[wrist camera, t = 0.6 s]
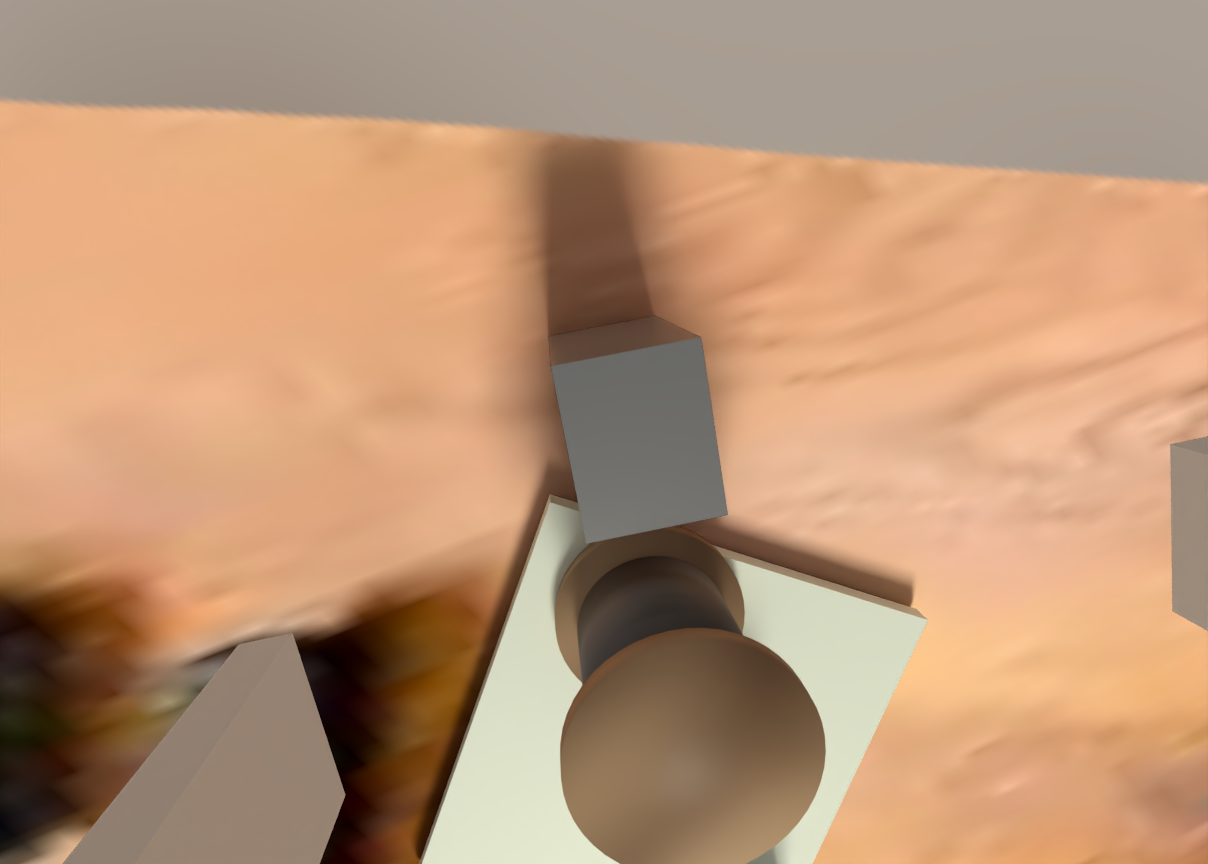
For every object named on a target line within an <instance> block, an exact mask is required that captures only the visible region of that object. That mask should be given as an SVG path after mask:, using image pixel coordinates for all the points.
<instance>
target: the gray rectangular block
mask: <svg viewBox="0 0 1208 864" xmlns="http://www.w3.org/2000/svg"><path fill="white" fill-rule="evenodd" d="M548 340H549V352H550V364H551V370H552V375H553V380H554V385H555V390H556V395H557V400H558V405H559V410H560V415H561V420H562V425H563V430H564V435H565V440H566V445H567V450H568V455H569V460H570V465H571V470H572V475H573V480H574V485H575V490H576V495H577V500H578V505H579V510H580V515H581V520H582V525H583V530H584V535H585V540H586V544H587V543H592V542H597V541H602V540H607V539H612V538H617V537H622V536H627V535H632V534H637V533H642V532H647V531H651V530H656V529H661V528H666V527H671V526H676V525H681V524H686V523H691V522H696V521H701V520H706V519H711V518H716V517H721V516H725V515H728V512H727V506H726V499H725V493H724V486H723V479H722V473H721V466H720V459H719V453H718V446H717V439H716V433H715V426H714V419H713V413H712V406H711V399H710V393H709V386H708V379H707V373H706V366H705V359H704V353H703V346H702V339H701V337H699V336H697V335H695V334H693V333H691V332H689V331H687V330H685V329H682V328H680V327H678V326H676V325H674V324H672V323H670V322H667V321H665V320H663V319H661V318H659V317H657V316H652V317H647V318H642V319H636V320H631V321H626V322H621V323H616V324H610V325H605V326H600V327H595V328H589V329H584V330H579V331H574V332H569V333H563V334H558V335H553V336H548Z"/></svg>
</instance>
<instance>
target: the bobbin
mask: <svg viewBox="0 0 1208 864" xmlns="http://www.w3.org/2000/svg"><path fill="white" fill-rule="evenodd" d="M744 617H745V609H744V599H743V595H742V590H741V588H740V585H739V582H738V580H737V578H736V576H735V574H734V573H733V571H732V569H731V567H730V566H729V564H728V563H727V561H726V560H725V558H724V557H723V556H722V554H721V553H720V552H719V551H718V550H717V549H716V548H715V547H714V546H713V545H712V544H711V543H710V542H708V541H707V540H706V539H704V538H703V537H701V536H699V535H698V534H696V533H694V532H692V531H690V530H687V529H685V528H682V527H679V526H671V527H666V528H661V529H656V530H651V531H647V532H642V533H637V534H632V535H627V536H622V537H617V538H612V539H607V540H602V541H597V542H592V543H591V544H590V545H588V546H587V547H586V548H585V549H584V550H583V551H582V552H581V553H580V554H578V556H577V557H576V558H575V559H574V561H573V562H572V563H571V564H570V566H569V568H568V569H567V571H566V573H565V574H564V576H563V579H562V581H561V583H560V586H559V589H558V593H557V596H556V603H555V631H556V637H557V642H558V646H559V649H560V652H561V654H562V656H563V658H564V661H565V662H566V664H567V665H568V667H569V669H570V670H571V671H572V673H573V674H574V675H575V676H576V677H577V678H578V680H580V681H581V682H582V687H581V688H580V690H579V691H578V693H577V695H576V696H575V698H574V699H573V702H572V704H571V706H570V708H569V710H568V712H567V715H566V718H565V722H564V725H563V728H562V735H561V741H560V768H561V782H562V789H563V795H564V798H565V801H566V804H567V808H568V810H569V812H570V814H571V816H572V818H573V820H574V822H575V823H576V825H577V826H578V828H579V829H580V831H581V832H582V834H583V835H584V836H585V837H586V838H587V839H588V840H589V841H590V842H591V843H592V844H593V845H594V846H595V847H596V848H597V849H598V850H600V851H601V852H602V853H603V854H605V855H606V856H608V857H609V858H611V859H613V860H614V861H616V862H618V863H619V864H746V863H748V862H750V861H752V860H754V859H756V858H757V857H759V856H761V855H763V854H764V853H765V852H767V851H768V850H770V849H771V848H773V847H774V846H776V845H777V844H778V843H779V842H780V841H781V840H782V839H784V838H785V837H786V836H787V835H788V834H789V833H790V832H791V831H792V830H793V829H794V828H795V826H796V825H797V824H798V823H799V822H800V820H801V819H802V818H803V816H804V815H805V813H806V812H807V811H808V809H809V807H810V805H811V803H812V801H813V800H814V798H815V796H816V793H817V791H818V788H819V785H820V783H821V779H822V775H823V771H824V766H825V755H826V746H825V734H824V729H823V724H822V721H821V718H820V715H819V713H818V710H817V707H816V706H815V704H814V702H813V700H812V698H811V697H810V695H809V693H808V691H807V690H806V688H805V687H804V685H803V683H802V682H801V680H800V679H799V677H798V676H797V675H796V673H795V672H794V671H793V669H792V668H791V667H790V666H789V665H788V664H787V663H786V662H785V661H784V660H783V659H782V658H781V657H780V656H779V655H778V654H776V653H775V652H773V651H772V650H771V649H769V648H768V647H767V646H765V645H763V644H761V643H759V642H757V641H755V640H753V639H751V638H749V637H746V636H744V635H743V634H742V632H743V627H744Z"/></svg>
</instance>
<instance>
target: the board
mask: <svg viewBox="0 0 1208 864" xmlns="http://www.w3.org/2000/svg"><path fill="white" fill-rule="evenodd" d="M590 544H591V543H587V544H586V540H585V535H584V530H583V525H582V520H581V515H580V510H579V505H578V503H577V502H574V501H570V500H567V499H564V498H561V497H558V496H554V495H551V494H550V495H549V498H548V501H547V503H546V506H545V509H544V512H543V515H542V518H541V520H540V523H539V526H538V529H537V532H536V535H535V537H534V540H533V543H532V546H531V549H530V551H529V554H528V557H527V560H526V563H525V566H524V568H523V571H522V574H521V577H520V580H519V583H518V585H517V588H516V591H515V594H514V597H513V599H512V602H511V605H510V608H509V611H508V614H507V616H506V619H505V622H504V625H503V628H502V631H501V633H500V636H499V639H498V642H497V645H496V648H495V650H494V653H493V656H492V659H491V662H490V664H489V667H488V670H487V673H486V676H485V679H484V681H483V684H482V687H481V690H480V693H479V696H478V698H477V701H476V704H475V707H474V710H473V712H472V715H471V718H470V721H469V724H468V727H467V729H466V732H465V735H464V738H463V741H462V744H461V746H460V749H459V752H458V755H457V758H456V760H455V763H454V766H453V769H452V772H451V775H450V777H449V780H448V783H447V786H446V789H445V792H444V794H443V797H442V800H441V803H440V806H439V809H438V811H437V814H436V817H435V820H434V823H433V825H432V828H431V831H430V834H429V837H428V840H427V842H426V845H425V848H424V851H423V854H422V857H421V859H420V862H419V864H619V863H618V862H616V861H614V860H613V859H611V858H609V857H608V856H606V855H605V854H603V853H602V852H601V851H600V850H598V849H597V848H596V847H595V846H594V845H593V844H592V843H591V842H590V841H589V840H588V839H587V838H586V837H585V836H584V835H583V834H582V832H581V831H580V829H579V828H578V826H577V825H576V823H575V822H574V820H573V818H572V816H571V814H570V812H569V810H568V808H567V804H566V801H565V798H564V795H563V789H562V782H561V768H560V741H561V735H562V728H563V725H564V722H565V718H566V715H567V712H568V710H569V708H570V706H571V704H572V702H573V699H574V698H575V696H576V695H577V693H578V691H579V690H580V688H581V687H582V682H581V681H580V680H578V678H577V677H576V676H575V675H574V674H573V673H572V671H571V670H570V669H569V667H568V665H567V664H566V662H565V661H564V658H563V656H562V654H561V652H560V649H559V646H558V642H557V637H556V631H555V603H556V596H557V593H558V589H559V586H560V583H561V581H562V579H563V576H564V574H565V573H566V571H567V569H568V568H569V566H570V564H571V563H572V562H573V561H574V559H575V558H576V557H577V556H578V554H580V553H581V552H582V551H583V550H584V549H585V548H586V547H587V546H588V545H590ZM713 546H714V545H713ZM714 547H715V548H716V549H717V550H718V551H719V552H720V553H721V554H722V556H723V557H724V558H725V560H726V561H727V563H728V564H729V566H730V567H731V569H732V571H733V573H734V574H735V576H736V578H737V580H738V582H739V585H740V588H741V590H742V595H743V599H744V609H745V617H744V627H743V632H742V634H743V635H744V636H746V637H749V638H751V639H753V640H755V641H757V642H759V643H761V644H763V645H765V646H767V647H768V648H769V649H771V650H772V651H773V652H775V653H776V654H778V655H779V656H780V657H781V658H782V659H783V660H784V661H785V662H786V663H787V664H788V665H789V666H790V667H791V668H792V669H793V671H794V672H795V673H796V675H797V676H798V677H799V679H800V680H801V682H802V683H803V685H804V687H805V688H806V690H807V691H808V693H809V695H810V697H811V698H812V700H813V702H814V704H815V706H816V707H817V710H818V713H819V715H820V718H821V721H822V724H823V729H824V734H825V746H826V755H825V766H824V771H823V775H822V779H821V783H820V785H819V788H818V791H817V793H816V796H815V798H814V800H813V801H812V803H811V805H810V807H809V809H808V811H807V812H806V813H805V815H804V816H803V818H802V819H801V820H800V822H799V823H798V824H797V825H796V826H795V828H794V829H793V830H792V831H791V832H790V833H789V834H788V835H787V836H786V837H785V838H784V839H782V840H781V841H780V842H779V843H778V844H777V845H776V846H774V847H773V848H771V849H770V850H768V851H767V852H765V853H764V854H763V855H761V856H759V857H757V858H756V859H754V860H752V861H750V862H748V863H746V864H812V863H813V861H814V859H815V857H816V855H817V853H818V851H819V848H820V846H821V844H822V842H823V840H824V838H825V836H826V834H827V832H828V830H829V827H830V825H831V823H832V821H833V819H834V817H835V815H836V813H837V811H838V808H839V806H840V804H841V802H842V800H843V798H844V796H845V794H846V792H847V790H848V787H849V785H850V783H851V781H852V779H853V777H854V775H855V773H856V771H857V768H858V766H859V764H860V762H861V760H862V758H863V756H864V754H865V752H866V749H867V747H868V745H869V743H870V741H871V739H872V737H873V735H874V733H875V731H876V728H877V726H878V724H879V722H880V720H881V718H882V716H883V714H884V712H885V709H886V707H887V705H888V703H889V701H890V699H891V697H892V695H893V693H894V691H895V688H896V686H897V684H898V682H899V680H900V678H901V676H902V674H903V672H904V669H905V667H906V665H907V663H908V661H909V659H910V657H911V655H912V653H913V650H914V648H915V646H916V644H917V642H918V640H919V638H920V636H921V634H922V632H923V629H924V627H925V625H926V623H927V621H928V620H927V619H926V618H925V617H924V616H923V615H922V614H921V613H920V612H919V611H918V610H917V609H915V608H912V607H909V606H906V605H902V604H899V603H896V602H893V601H890V600H886V599H883V598H880V597H877V596H874V595H870V594H867V593H864V592H861V591H858V590H854V589H851V588H848V587H845V586H842V585H839V584H835V583H832V582H829V581H826V580H823V579H819V578H816V577H813V576H810V575H807V574H803V573H800V572H797V571H794V570H791V569H787V568H784V567H781V566H778V565H775V564H771V563H768V562H765V561H762V560H759V559H756V558H752V557H749V556H746V555H743V554H740V553H736V552H733V551H730V550H727V549H724V548H720V547H717V546H714Z"/></svg>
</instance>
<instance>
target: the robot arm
mask: <svg viewBox="0 0 1208 864" xmlns="http://www.w3.org/2000/svg"><path fill="white" fill-rule="evenodd" d="M1170 456H1171V536H1172V611H1173V612H1175V613H1177V614H1178V615H1180V616H1182V617H1184V618H1186V619H1187V620H1189V621H1191V622H1193V623H1195V624H1196V625H1198V626H1200V627H1202V628H1204V629H1205V630H1207V631H1208V436H1207V437H1203V438H1198V439H1193V440H1189V441H1184V442H1179V443H1175V444H1170ZM344 797H345V793H344V790H343V787H342V784H341V781H340V778H339V775H338V772H337V768H336V765H335V762H334V759H333V756H332V753H331V750H330V747H329V744H328V741H327V738H326V735H325V732H324V729H323V726H322V723H321V719H320V716H319V713H318V710H317V707H316V704H315V701H314V698H313V695H312V692H311V689H310V686H309V683H308V680H307V677H306V674H305V670H304V667H303V664H302V661H301V658H300V655H299V652H298V649H297V646H296V643H295V640H294V637H293V634H292V633H290V634H285V635H281V636H276V637H271V638H267V639H262V640H257V641H253V642H248V643H244V644H239V645H238V646H237V647H236V649H235V650H234V651H233V652H232V654H231V655H230V656H229V657H228V659H227V660H226V661H225V662H224V664H223V665H222V666H221V667H220V669H219V670H218V671H217V672H216V674H215V675H214V676H213V677H212V679H211V680H210V681H209V682H208V684H207V685H206V686H205V687H204V689H203V690H202V691H201V692H200V693H199V695H198V696H197V697H196V698H195V700H194V701H193V702H192V703H191V705H190V706H189V707H188V708H187V710H186V711H185V712H184V713H183V715H182V716H181V717H180V718H179V720H178V721H177V722H176V723H175V725H174V726H173V727H172V728H171V730H170V731H169V732H168V733H167V735H166V736H165V737H164V738H163V740H162V741H161V742H160V743H159V744H158V746H157V747H156V748H155V749H154V751H153V752H152V753H151V754H150V756H149V757H148V758H147V759H146V761H145V762H144V763H143V764H142V766H141V767H140V768H139V769H138V771H137V772H136V773H135V774H134V776H133V777H132V778H131V779H130V781H129V782H128V783H127V784H126V786H125V787H124V788H123V789H122V791H121V792H120V793H119V794H118V795H117V797H116V798H115V799H114V800H113V802H112V803H111V804H110V805H109V807H108V808H107V809H106V810H105V812H104V813H103V814H102V815H101V817H100V818H99V819H98V820H97V822H96V823H95V824H94V825H93V827H92V828H91V829H90V830H89V832H88V833H87V834H86V835H85V837H84V838H83V839H82V840H81V842H80V843H79V844H78V845H77V847H76V848H75V849H74V850H73V851H72V853H71V854H70V855H69V856H68V858H67V859H66V860H65V861H64V863H63V864H319V863H320V861H321V858H322V856H323V853H324V850H325V848H326V845H327V842H328V840H329V837H330V834H331V832H332V829H333V826H334V824H335V821H336V818H337V816H338V813H339V810H340V808H341V805H342V802H343V800H344Z"/></svg>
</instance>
